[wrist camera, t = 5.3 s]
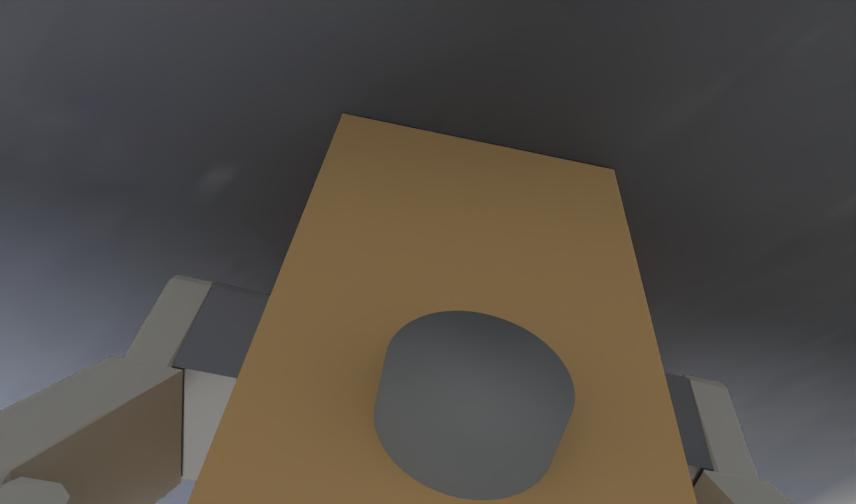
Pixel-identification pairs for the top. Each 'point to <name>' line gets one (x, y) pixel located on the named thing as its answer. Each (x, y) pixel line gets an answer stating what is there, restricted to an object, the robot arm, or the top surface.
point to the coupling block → (451, 340)
